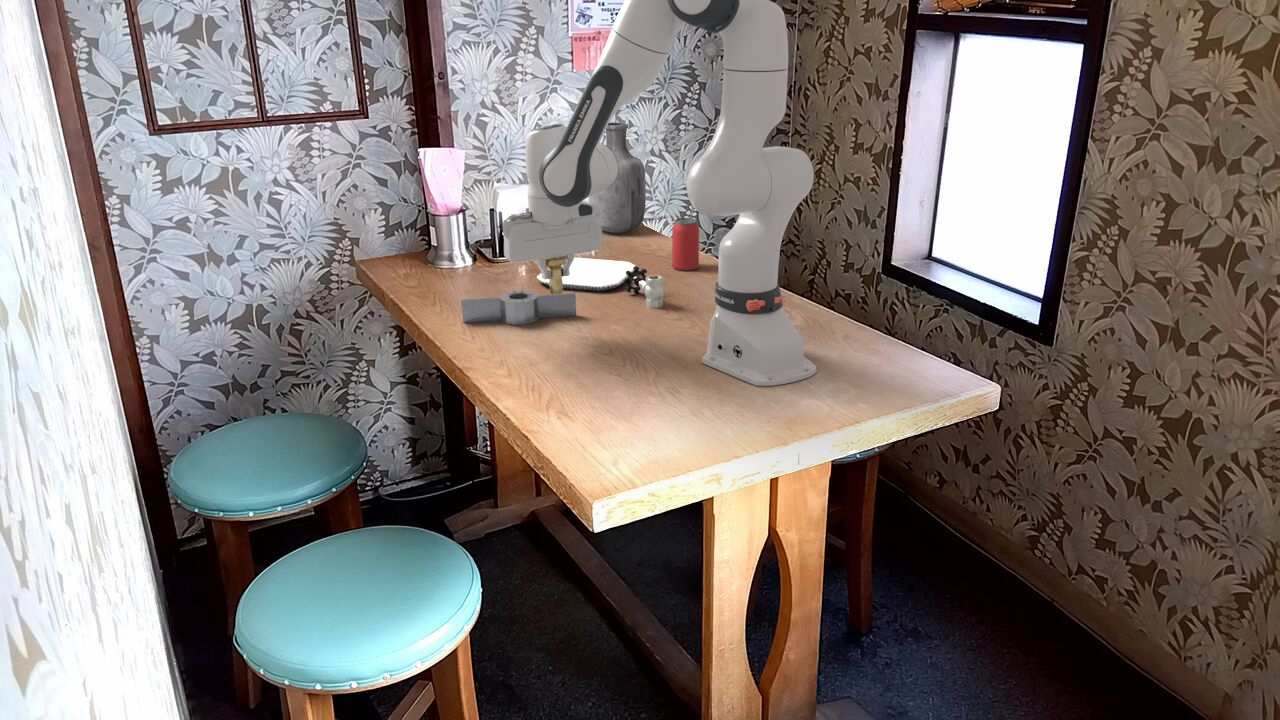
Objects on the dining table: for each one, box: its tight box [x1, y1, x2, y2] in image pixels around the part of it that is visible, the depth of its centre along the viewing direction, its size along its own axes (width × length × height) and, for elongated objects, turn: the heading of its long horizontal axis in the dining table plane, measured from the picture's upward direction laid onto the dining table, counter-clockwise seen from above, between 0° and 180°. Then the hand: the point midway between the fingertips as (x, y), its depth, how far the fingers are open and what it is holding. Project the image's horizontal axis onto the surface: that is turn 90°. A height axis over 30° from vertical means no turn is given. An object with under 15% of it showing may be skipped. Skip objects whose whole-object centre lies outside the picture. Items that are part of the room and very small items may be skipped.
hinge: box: [460, 289, 577, 326], centre depth 202 cm, size 24×8×5 cm, turn 98°
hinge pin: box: [543, 255, 566, 294], centre depth 192 cm, size 4×4×7 cm
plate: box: [536, 257, 636, 292], centre depth 229 cm, size 21×21×2 cm
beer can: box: [671, 217, 700, 272], centre depth 235 cm, size 7×7×12 cm
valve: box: [622, 265, 665, 309], centre depth 213 cm, size 7×7×12 cm
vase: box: [588, 121, 647, 234], centre depth 266 cm, size 16×16×30 cm
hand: (555, 277), depth 192 cm, fingers closed on hinge pin, 3 cm apart
